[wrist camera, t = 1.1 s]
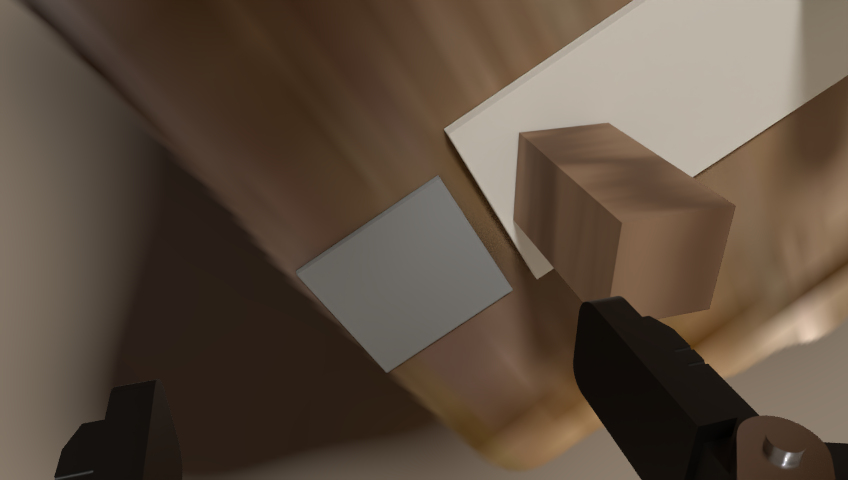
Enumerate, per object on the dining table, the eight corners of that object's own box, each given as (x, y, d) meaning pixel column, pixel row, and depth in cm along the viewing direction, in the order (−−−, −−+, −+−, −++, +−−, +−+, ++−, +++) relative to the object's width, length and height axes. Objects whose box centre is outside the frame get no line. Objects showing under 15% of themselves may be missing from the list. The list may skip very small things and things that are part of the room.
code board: (443, 129, 33) (448, 135, 32) (857, -153, 31) (873, -153, 31) (531, 272, 39) (537, 280, 38) (882, 41, 37) (896, 44, 37)
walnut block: (513, 219, 35) (605, 328, 27) (519, 132, 33) (622, 222, 25) (596, 207, 37) (709, 309, 28) (608, 122, 34) (735, 205, 26)
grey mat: (296, 270, 34) (296, 274, 34) (437, 175, 34) (439, 178, 34) (385, 368, 39) (386, 372, 39) (510, 286, 39) (512, 289, 38)
